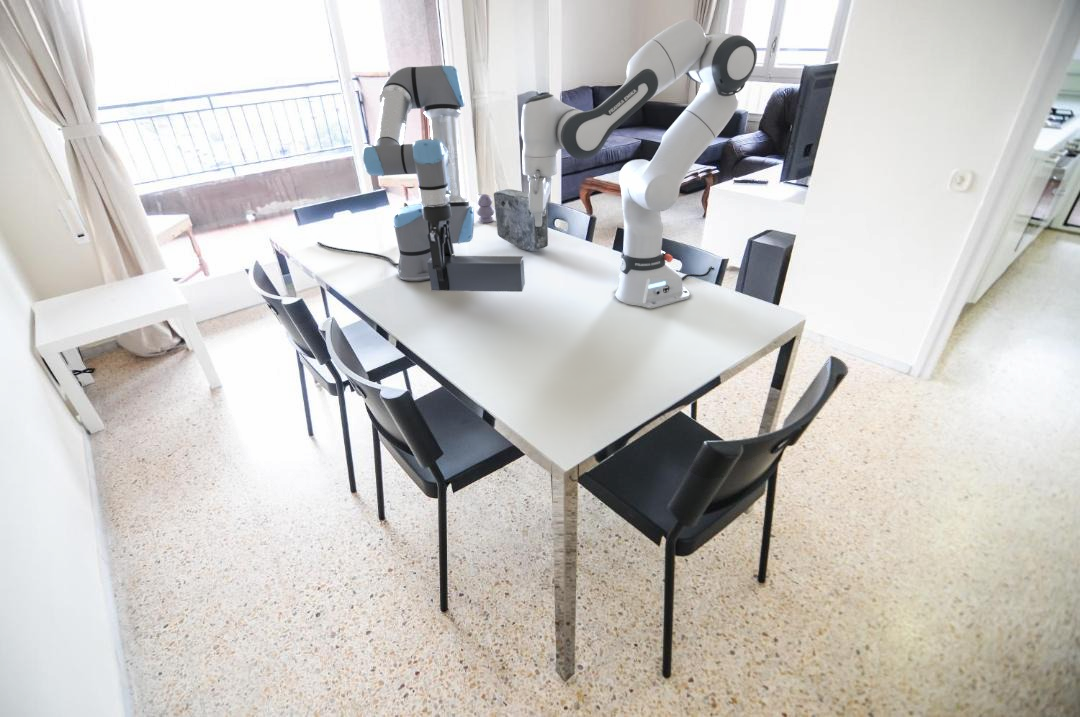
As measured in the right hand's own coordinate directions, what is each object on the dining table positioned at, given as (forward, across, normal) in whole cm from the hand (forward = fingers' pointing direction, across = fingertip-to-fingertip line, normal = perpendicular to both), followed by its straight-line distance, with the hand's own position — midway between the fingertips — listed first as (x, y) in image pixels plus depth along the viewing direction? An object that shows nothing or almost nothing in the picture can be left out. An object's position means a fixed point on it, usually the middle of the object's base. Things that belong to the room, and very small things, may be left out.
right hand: (540, 220), depth 134 cm
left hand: (+18, -3, +27) cm, 33 cm away
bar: (+18, -3, +18) cm, 26 cm away
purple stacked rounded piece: (+27, +92, +35) cm, 103 cm away
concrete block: (+27, +56, +13) cm, 64 cm away
